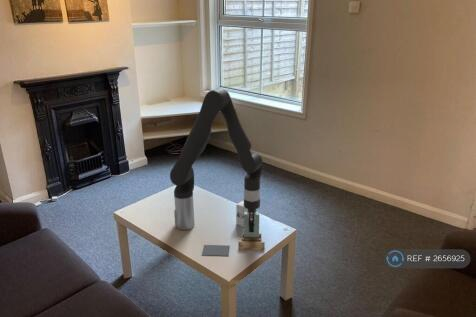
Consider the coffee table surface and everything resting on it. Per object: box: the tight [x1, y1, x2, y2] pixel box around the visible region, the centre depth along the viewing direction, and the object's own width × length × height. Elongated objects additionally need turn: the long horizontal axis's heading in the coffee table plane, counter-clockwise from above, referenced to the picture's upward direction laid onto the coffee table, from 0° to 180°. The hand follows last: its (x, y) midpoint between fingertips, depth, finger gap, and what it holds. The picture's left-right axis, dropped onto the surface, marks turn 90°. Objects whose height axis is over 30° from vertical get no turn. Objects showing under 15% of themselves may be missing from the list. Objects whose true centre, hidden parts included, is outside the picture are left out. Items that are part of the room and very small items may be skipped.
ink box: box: [235, 199, 248, 228], centre depth 195 cm, size 9×5×12 cm, turn 143°
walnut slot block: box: [241, 232, 262, 242], centre depth 180 cm, size 9×6×2 cm, turn 87°
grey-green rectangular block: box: [243, 211, 260, 237], centre depth 178 cm, size 7×2×12 cm, turn 87°
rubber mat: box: [201, 244, 231, 257], centre depth 173 cm, size 12×8×1 cm, turn 87°
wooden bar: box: [237, 240, 266, 251], centre depth 174 cm, size 12×2×4 cm, turn 87°
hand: (251, 230), depth 179 cm, fingers closed on grey-green rectangular block, 2 cm apart
